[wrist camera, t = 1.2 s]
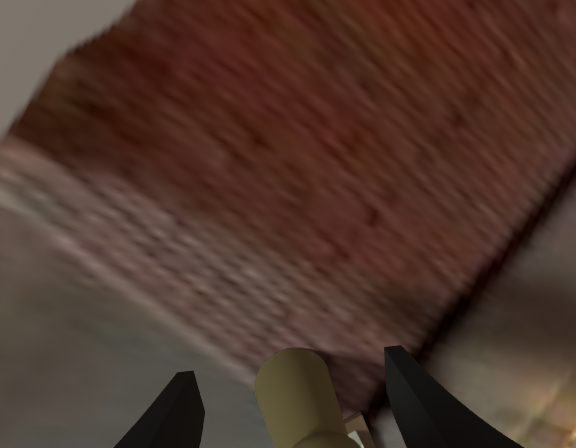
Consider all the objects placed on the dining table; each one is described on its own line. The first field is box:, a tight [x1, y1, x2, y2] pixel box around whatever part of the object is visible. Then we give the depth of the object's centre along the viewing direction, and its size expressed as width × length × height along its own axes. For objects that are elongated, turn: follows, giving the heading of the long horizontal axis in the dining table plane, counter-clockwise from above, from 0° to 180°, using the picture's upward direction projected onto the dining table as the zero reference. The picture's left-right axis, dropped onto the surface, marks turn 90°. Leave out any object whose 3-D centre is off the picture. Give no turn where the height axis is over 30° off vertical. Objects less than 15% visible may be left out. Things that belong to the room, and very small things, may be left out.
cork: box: [255, 348, 362, 448], centre depth 21 cm, size 6×6×11 cm
